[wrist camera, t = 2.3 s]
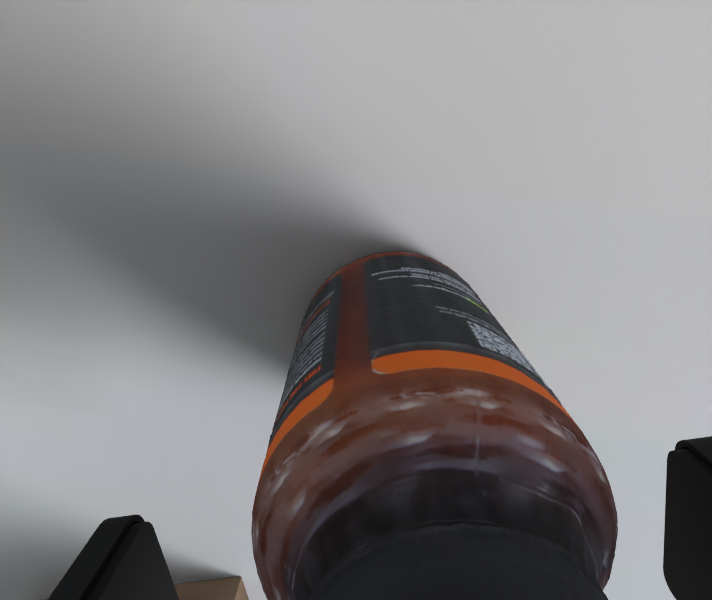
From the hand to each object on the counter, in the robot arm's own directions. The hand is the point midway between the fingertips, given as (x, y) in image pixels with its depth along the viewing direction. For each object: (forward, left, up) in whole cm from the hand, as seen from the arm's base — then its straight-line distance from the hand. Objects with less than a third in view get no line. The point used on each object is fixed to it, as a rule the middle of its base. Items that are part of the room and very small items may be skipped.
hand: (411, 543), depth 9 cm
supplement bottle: (-1, 0, -8) cm, 8 cm away
